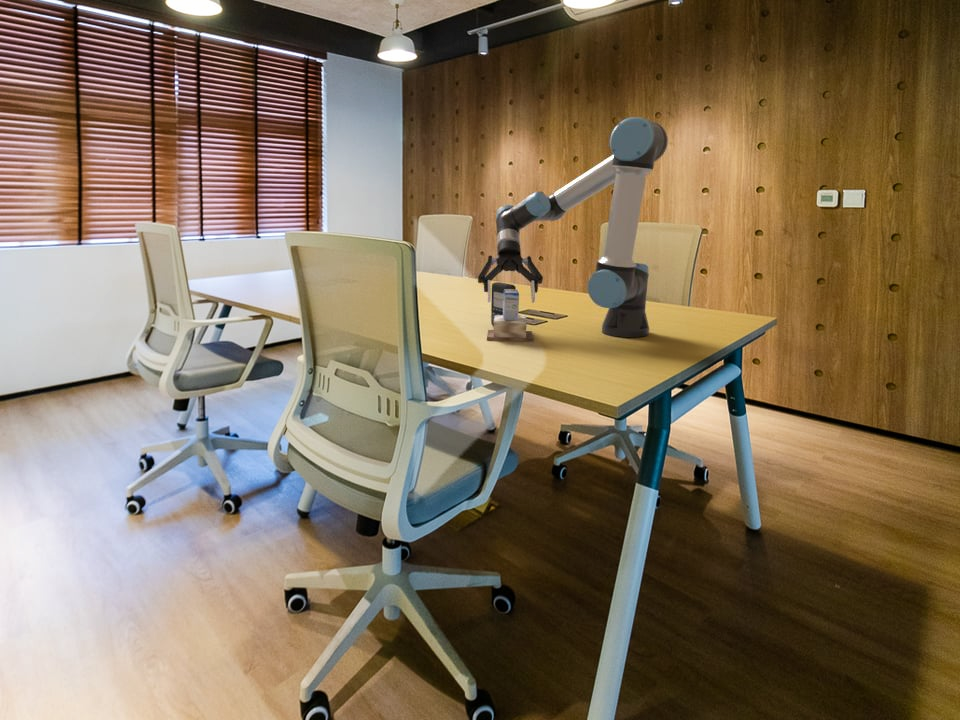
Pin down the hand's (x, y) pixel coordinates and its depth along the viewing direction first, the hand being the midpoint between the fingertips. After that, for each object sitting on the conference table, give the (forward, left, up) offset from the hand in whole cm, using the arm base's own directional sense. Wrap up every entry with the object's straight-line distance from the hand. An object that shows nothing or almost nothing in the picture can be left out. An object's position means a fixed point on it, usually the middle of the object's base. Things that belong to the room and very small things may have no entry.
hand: (511, 300), depth 185 cm
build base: (0, -2, -12) cm, 12 cm away
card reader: (+3, -17, -12) cm, 21 cm away
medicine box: (0, -2, -6) cm, 7 cm away
